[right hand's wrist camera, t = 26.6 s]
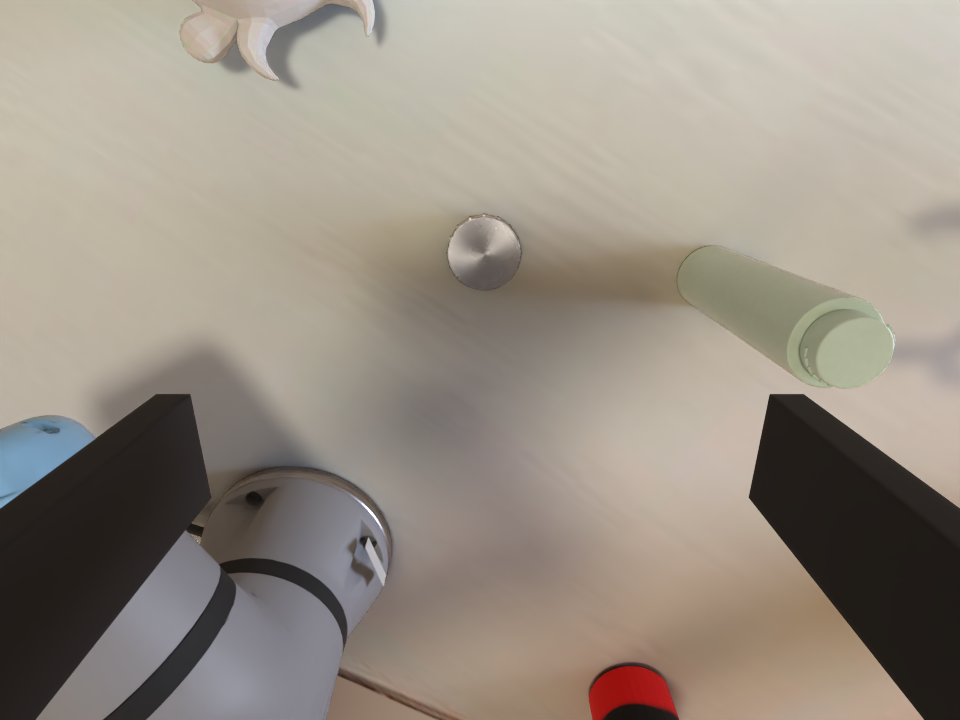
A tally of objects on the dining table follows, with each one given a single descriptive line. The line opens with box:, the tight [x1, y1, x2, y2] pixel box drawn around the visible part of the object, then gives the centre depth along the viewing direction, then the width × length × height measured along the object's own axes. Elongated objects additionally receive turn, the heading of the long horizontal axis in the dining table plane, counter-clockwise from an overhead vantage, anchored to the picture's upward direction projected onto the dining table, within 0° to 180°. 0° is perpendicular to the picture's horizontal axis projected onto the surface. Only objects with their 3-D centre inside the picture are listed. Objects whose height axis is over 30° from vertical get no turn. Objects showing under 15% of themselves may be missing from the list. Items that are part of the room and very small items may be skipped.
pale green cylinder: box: [677, 246, 896, 389], centre depth 31 cm, size 4×4×16 cm
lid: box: [447, 213, 521, 290], centre depth 37 cm, size 5×5×2 cm
